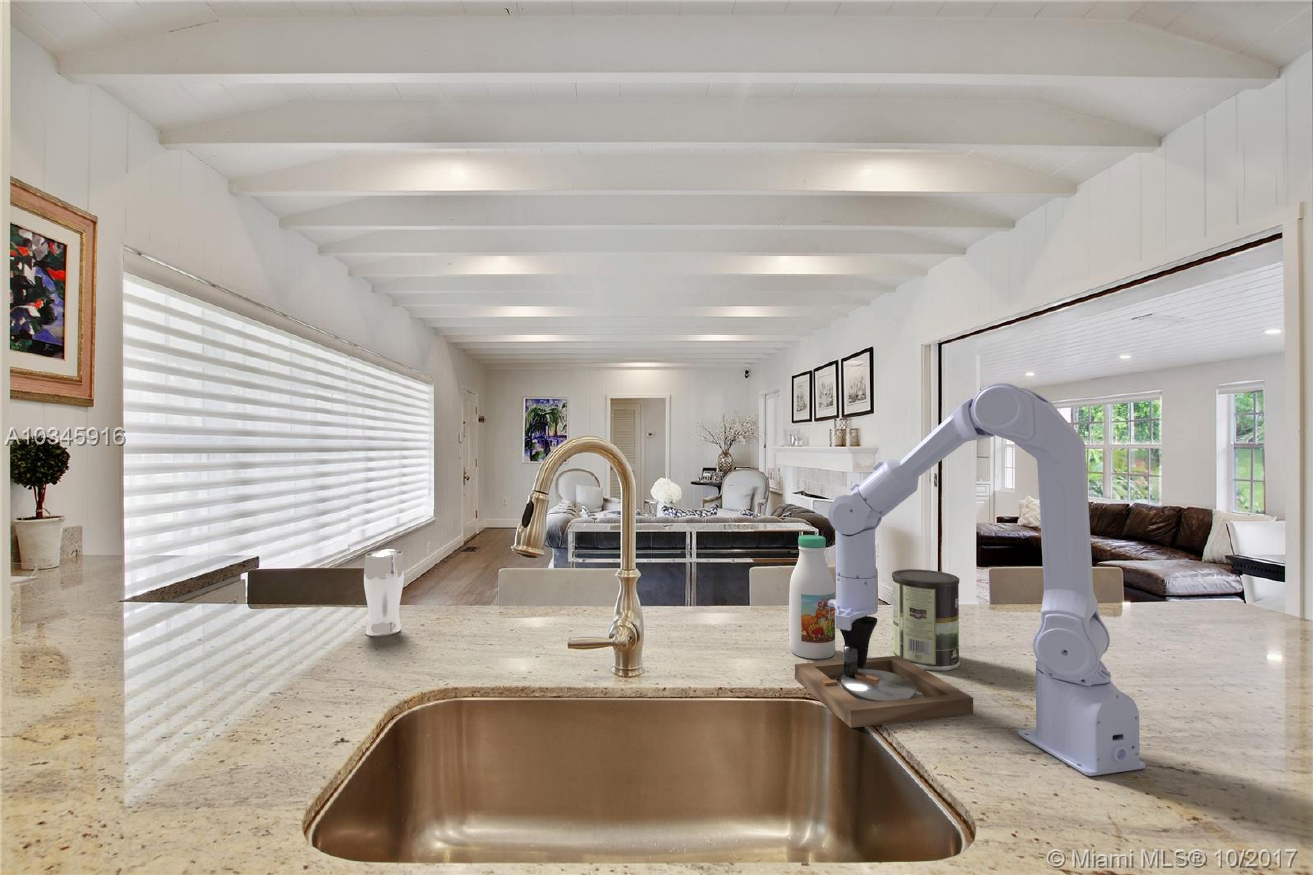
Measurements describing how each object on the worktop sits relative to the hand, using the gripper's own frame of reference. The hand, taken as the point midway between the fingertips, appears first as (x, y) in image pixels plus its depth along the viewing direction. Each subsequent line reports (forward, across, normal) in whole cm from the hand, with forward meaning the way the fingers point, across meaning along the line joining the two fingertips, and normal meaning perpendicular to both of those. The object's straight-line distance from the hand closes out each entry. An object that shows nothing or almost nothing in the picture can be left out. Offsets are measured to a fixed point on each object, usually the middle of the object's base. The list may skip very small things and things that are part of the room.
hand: (856, 665), depth 87 cm
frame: (+3, +2, +4) cm, 5 cm away
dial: (+3, +2, +4) cm, 5 cm away
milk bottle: (+3, -10, -10) cm, 14 cm away
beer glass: (+2, +25, -82) cm, 86 cm away
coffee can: (+3, -17, +7) cm, 19 cm away
